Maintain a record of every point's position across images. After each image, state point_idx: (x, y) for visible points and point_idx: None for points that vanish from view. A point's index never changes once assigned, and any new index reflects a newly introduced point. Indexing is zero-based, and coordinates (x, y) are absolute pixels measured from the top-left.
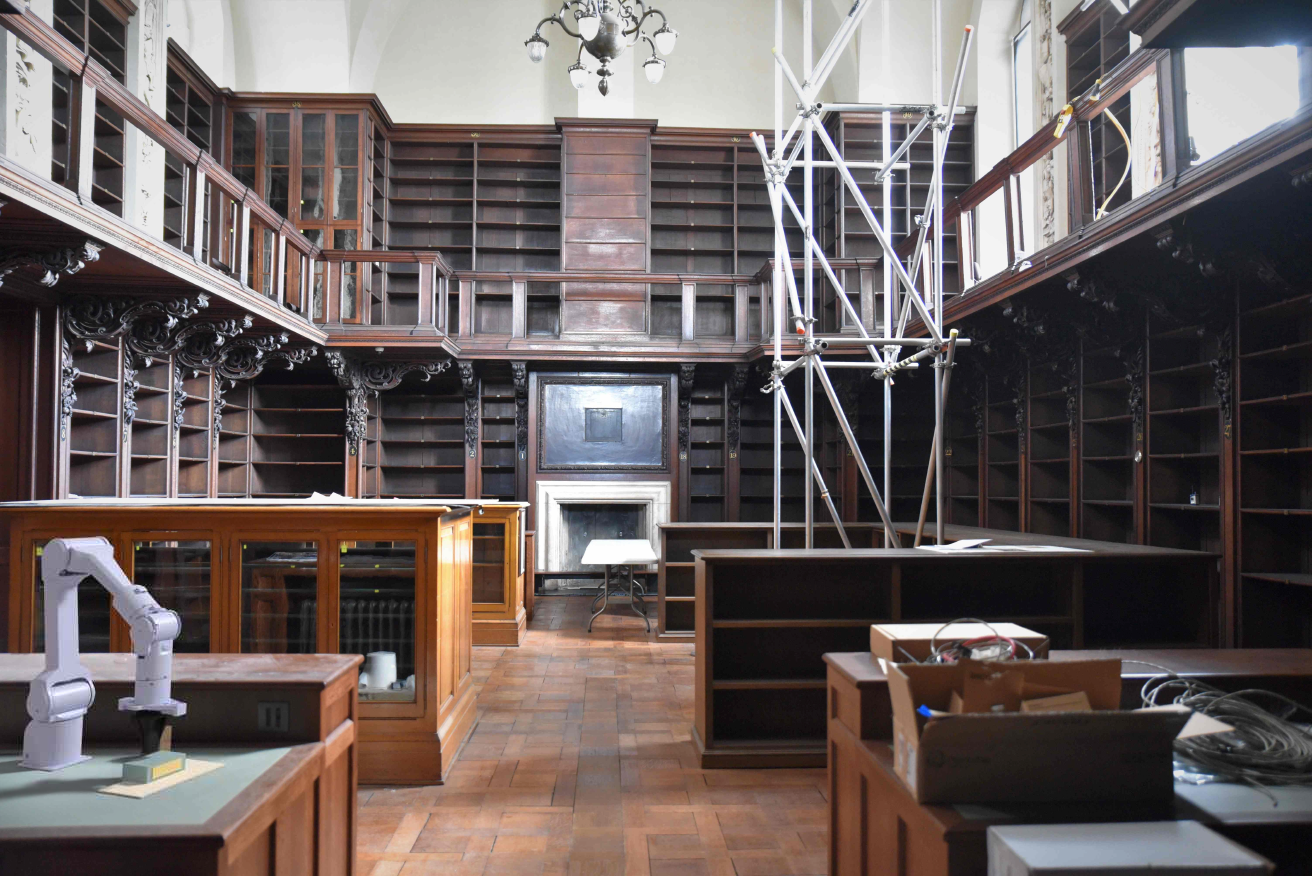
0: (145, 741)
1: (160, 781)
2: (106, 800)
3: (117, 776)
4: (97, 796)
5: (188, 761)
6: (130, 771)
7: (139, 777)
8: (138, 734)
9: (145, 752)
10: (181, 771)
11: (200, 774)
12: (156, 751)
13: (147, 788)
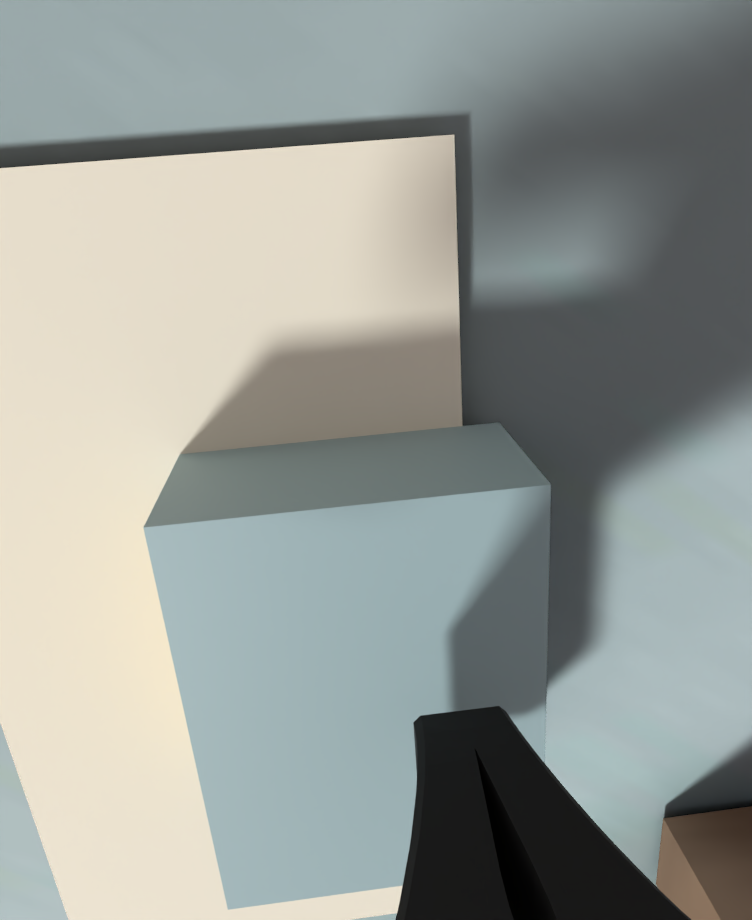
0: (452, 822)
1: (128, 542)
2: (150, 15)
3: (684, 503)
4: (363, 66)
5: None
6: (411, 468)
7: (274, 462)
8: (631, 888)
9: (452, 716)
10: None
11: (23, 775)
12: (730, 871)
13: (33, 376)
